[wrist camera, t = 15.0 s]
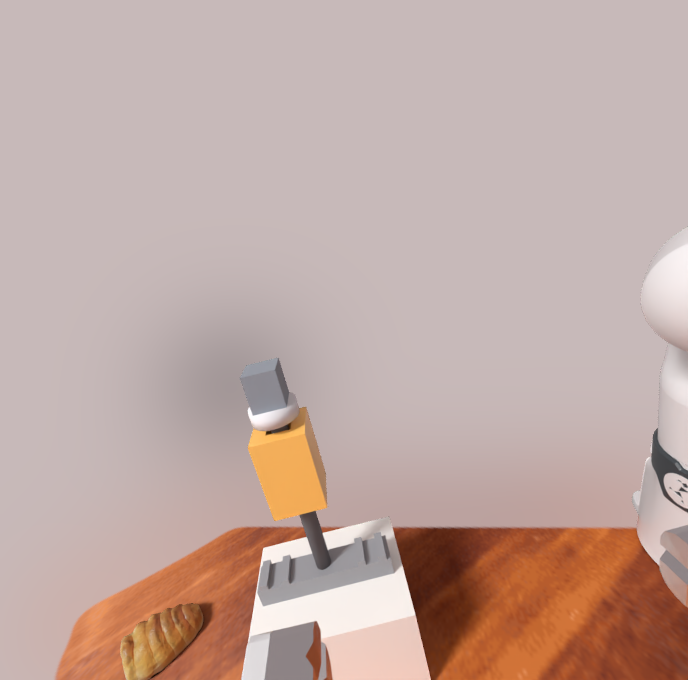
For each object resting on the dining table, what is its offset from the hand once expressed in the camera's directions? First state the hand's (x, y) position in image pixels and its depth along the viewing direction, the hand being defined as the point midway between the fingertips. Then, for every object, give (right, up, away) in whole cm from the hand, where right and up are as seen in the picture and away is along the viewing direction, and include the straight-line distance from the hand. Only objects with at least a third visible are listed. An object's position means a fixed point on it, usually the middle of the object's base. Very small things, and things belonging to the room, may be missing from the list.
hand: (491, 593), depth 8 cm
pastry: (-27, -34, +38) cm, 57 cm away
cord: (-5, -20, +30) cm, 36 cm away
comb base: (-3, -29, +33) cm, 44 cm away
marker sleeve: (-8, -9, +27) cm, 30 cm away
